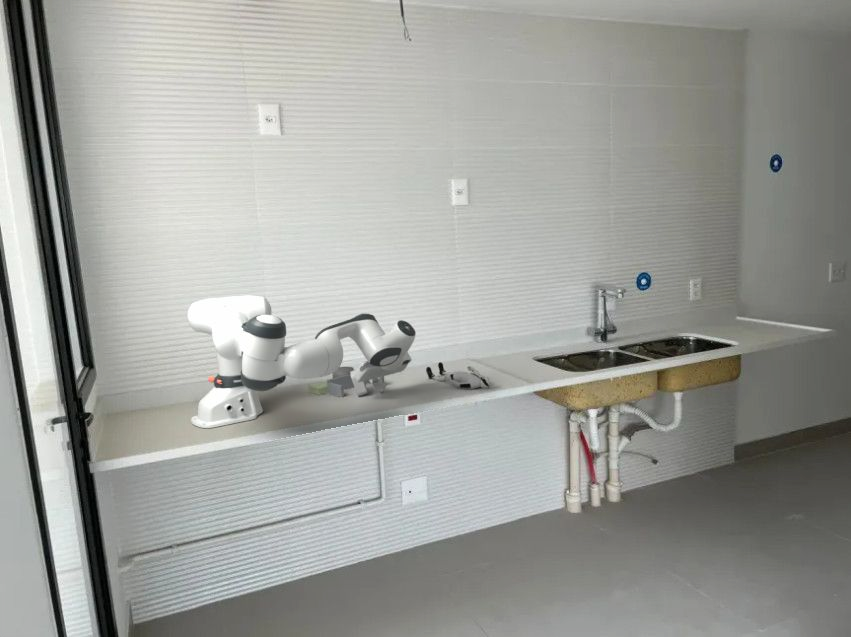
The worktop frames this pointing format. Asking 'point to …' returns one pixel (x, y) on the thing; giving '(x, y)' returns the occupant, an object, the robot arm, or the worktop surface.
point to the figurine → (460, 378)
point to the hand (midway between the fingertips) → (373, 381)
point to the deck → (336, 383)
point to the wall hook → (361, 386)
